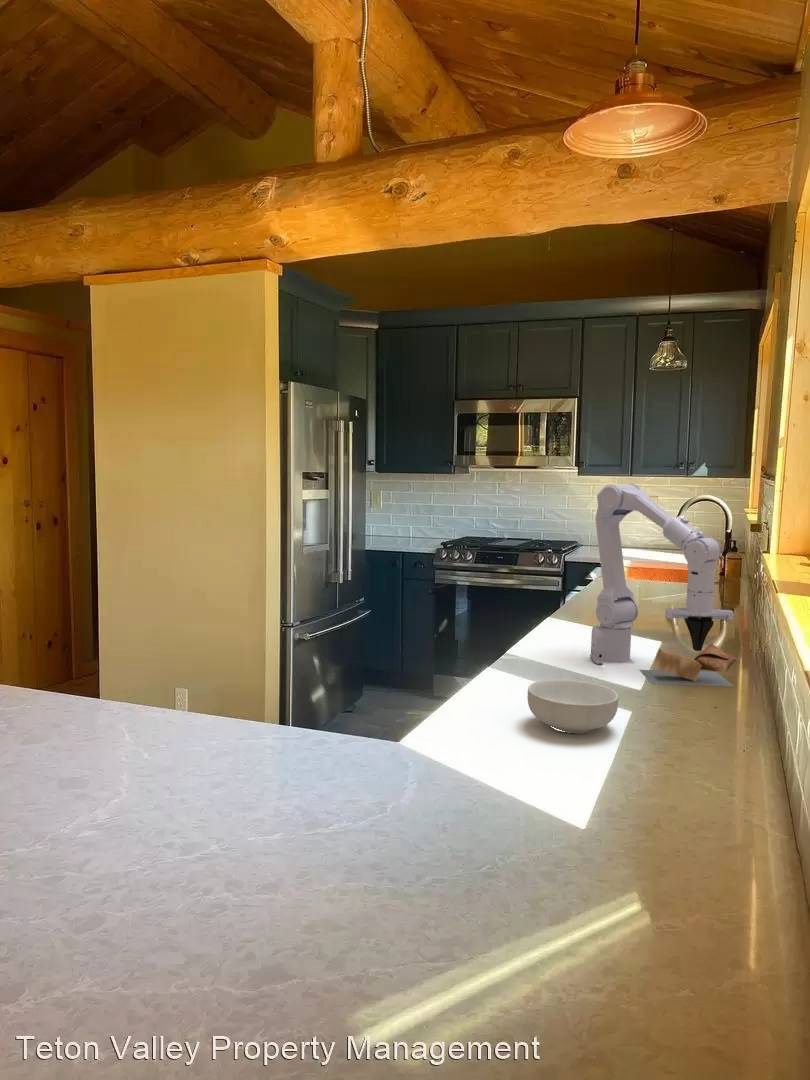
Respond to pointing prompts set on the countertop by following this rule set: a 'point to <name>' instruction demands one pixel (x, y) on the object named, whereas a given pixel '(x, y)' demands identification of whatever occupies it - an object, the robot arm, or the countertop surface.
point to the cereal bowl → (572, 704)
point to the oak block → (677, 664)
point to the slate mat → (673, 679)
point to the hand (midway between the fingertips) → (697, 650)
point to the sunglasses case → (714, 659)
